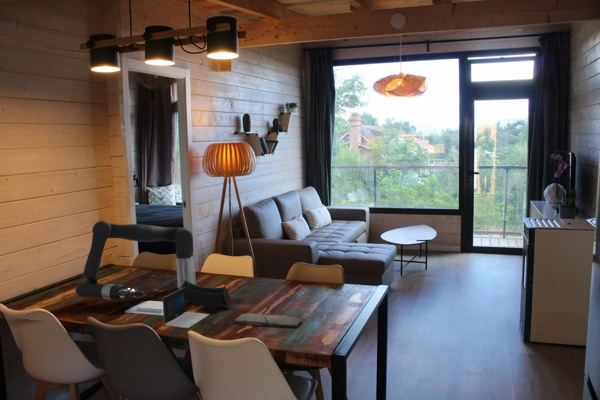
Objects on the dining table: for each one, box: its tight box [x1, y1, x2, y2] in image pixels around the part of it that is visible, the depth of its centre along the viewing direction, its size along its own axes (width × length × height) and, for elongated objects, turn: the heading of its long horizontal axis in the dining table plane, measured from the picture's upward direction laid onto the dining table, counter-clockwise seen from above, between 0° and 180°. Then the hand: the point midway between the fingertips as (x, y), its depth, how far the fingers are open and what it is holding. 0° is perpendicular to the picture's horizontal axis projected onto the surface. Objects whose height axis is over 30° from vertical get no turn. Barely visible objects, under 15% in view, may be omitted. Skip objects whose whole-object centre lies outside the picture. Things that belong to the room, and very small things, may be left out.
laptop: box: [162, 287, 210, 329], centre depth 240 cm, size 18×12×13 cm
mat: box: [124, 301, 164, 317], centre depth 259 cm, size 21×16×1 cm
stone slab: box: [234, 312, 304, 329], centre depth 235 cm, size 10×3×30 cm
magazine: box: [181, 280, 233, 308], centre depth 262 cm, size 17×3×30 cm
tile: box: [137, 300, 163, 312], centre depth 258 cm, size 2×10×14 cm
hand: (143, 294), depth 259 cm, fingers closed
